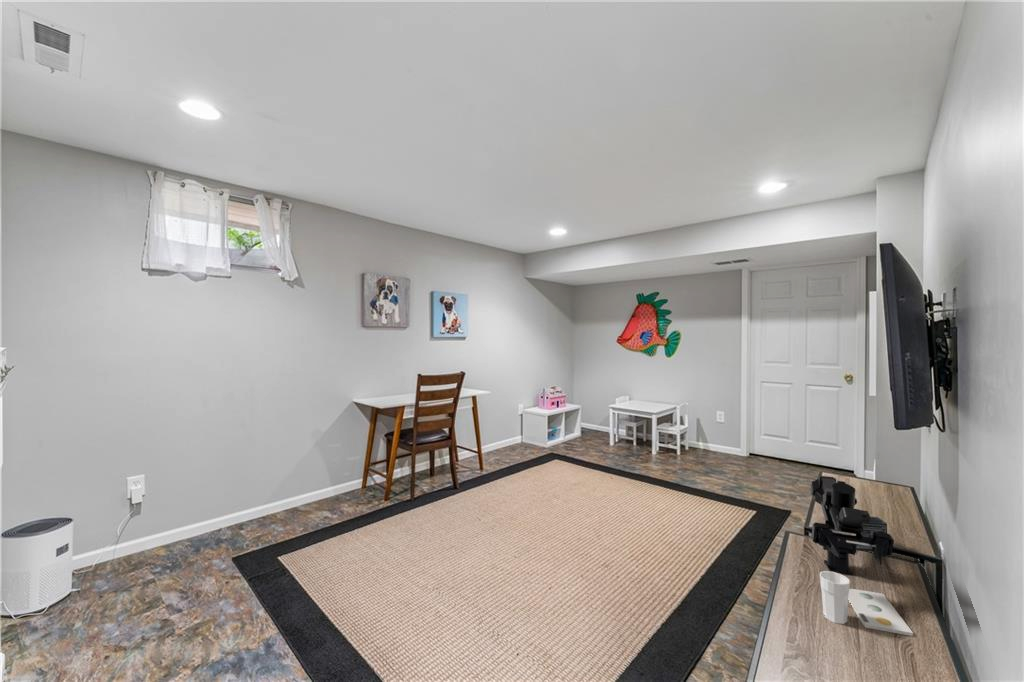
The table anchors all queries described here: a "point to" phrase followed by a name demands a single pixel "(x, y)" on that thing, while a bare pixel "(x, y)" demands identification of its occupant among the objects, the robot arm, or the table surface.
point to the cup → (835, 596)
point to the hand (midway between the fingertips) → (859, 560)
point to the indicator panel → (877, 612)
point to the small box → (868, 530)
